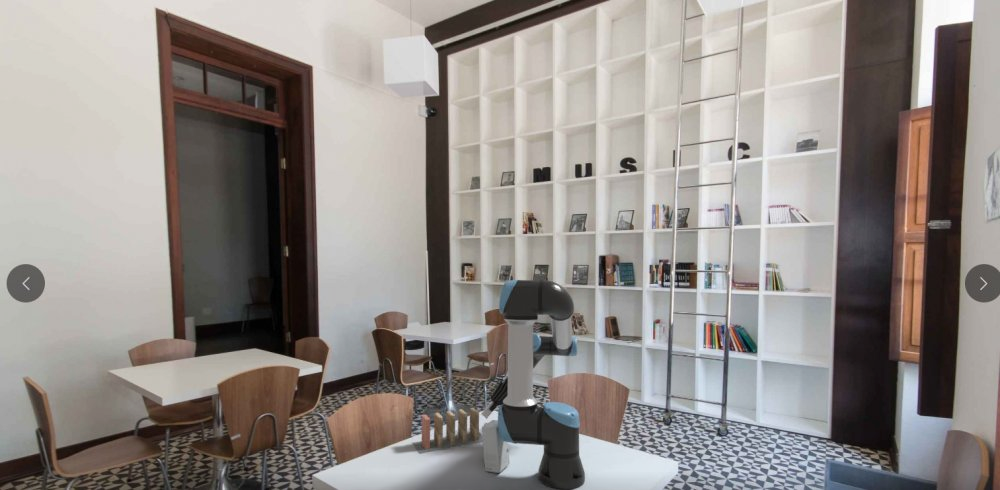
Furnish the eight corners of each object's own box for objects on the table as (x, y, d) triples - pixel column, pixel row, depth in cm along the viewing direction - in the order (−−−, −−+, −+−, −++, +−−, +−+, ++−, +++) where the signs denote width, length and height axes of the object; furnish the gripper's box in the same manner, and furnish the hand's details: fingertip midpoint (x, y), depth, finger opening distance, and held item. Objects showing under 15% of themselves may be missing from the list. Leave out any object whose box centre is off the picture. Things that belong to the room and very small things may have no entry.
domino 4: (461, 437, 179) (461, 409, 179) (467, 442, 173) (467, 413, 174) (457, 437, 178) (458, 409, 179) (463, 443, 173) (463, 414, 173)
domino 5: (473, 435, 181) (473, 407, 181) (478, 440, 175) (479, 412, 176) (469, 435, 180) (469, 408, 181) (475, 440, 175) (475, 412, 175)
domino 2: (437, 441, 174) (438, 412, 175) (442, 446, 169) (442, 417, 170) (433, 441, 174) (434, 413, 174) (438, 447, 168) (438, 418, 169)
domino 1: (425, 443, 172) (425, 414, 173) (429, 448, 167) (430, 419, 167) (421, 443, 172) (421, 415, 172) (425, 449, 166) (426, 419, 167)
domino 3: (450, 438, 177) (450, 410, 177) (455, 444, 171) (455, 415, 172) (446, 439, 176) (446, 411, 176) (451, 445, 170) (451, 416, 171)
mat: (478, 432, 184) (478, 431, 184) (488, 442, 175) (488, 441, 175) (411, 443, 173) (411, 442, 173) (419, 454, 163) (419, 453, 163)
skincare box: (500, 473, 147) (496, 428, 148) (484, 471, 150) (480, 426, 151) (510, 463, 155) (506, 419, 156) (494, 461, 157) (491, 418, 158)
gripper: (533, 380, 183) (496, 427, 175) (518, 373, 195) (483, 417, 187) (522, 368, 181) (484, 415, 173) (508, 362, 193) (472, 405, 185)
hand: (484, 416), depth 180 cm, fingers closed
